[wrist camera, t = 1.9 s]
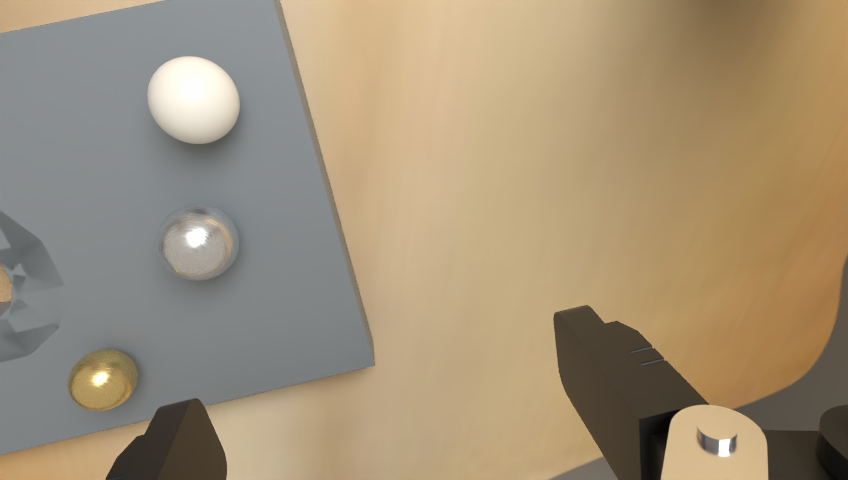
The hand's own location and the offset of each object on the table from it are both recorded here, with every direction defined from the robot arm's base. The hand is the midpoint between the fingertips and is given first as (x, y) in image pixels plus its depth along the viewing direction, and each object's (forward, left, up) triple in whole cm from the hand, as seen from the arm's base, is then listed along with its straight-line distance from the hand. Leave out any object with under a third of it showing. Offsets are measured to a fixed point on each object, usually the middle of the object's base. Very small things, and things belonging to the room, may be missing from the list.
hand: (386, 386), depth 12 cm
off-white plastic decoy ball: (+6, -6, -14) cm, 16 cm away
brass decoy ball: (+15, +6, -14) cm, 21 cm away
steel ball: (+8, 0, -14) cm, 16 cm away
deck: (+14, 0, -18) cm, 23 cm away
